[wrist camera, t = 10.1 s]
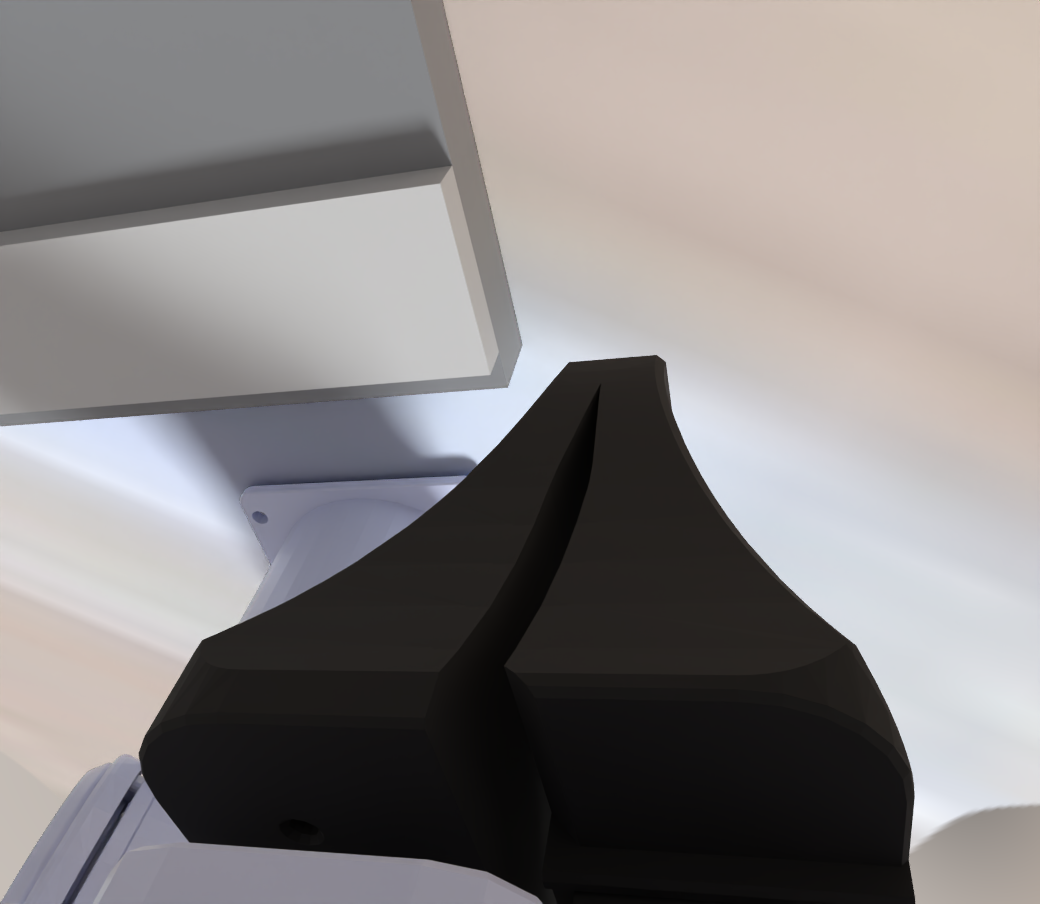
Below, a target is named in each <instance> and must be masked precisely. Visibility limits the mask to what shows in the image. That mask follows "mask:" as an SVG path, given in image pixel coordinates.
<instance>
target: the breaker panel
mask: <svg viewBox="0 0 1040 904" xmlns="http://www.w3.org/2000/svg"><path fill="white" fill-rule="evenodd" d="M521 347H522V342H521V337H520V333H519V329H518V324H517V320H516V316H515V312H514V307H513V303H512V299H511V294H510V290H509V286H508V281H507V277H506V273H505V269H504V264H503V260H502V256H501V251H500V247H499V243H498V238H497V234H496V230H495V225H494V221H493V217H492V213H491V208H490V204H489V200H488V195H487V191H486V187H485V182H484V178H483V174H482V169H481V165H480V161H479V157H478V152H477V148H476V144H475V139H474V135H473V131H472V126H471V122H470V118H469V113H468V109H467V105H466V101H465V96H464V92H463V88H462V83H461V79H460V75H459V70H458V66H457V62H456V58H455V53H454V49H453V45H452V40H451V36H450V32H449V27H448V23H447V19H446V14H445V10H444V6H443V2H442V0H0V426H11V425H24V424H37V423H50V422H63V421H76V420H89V419H102V418H115V417H128V416H141V415H154V414H168V413H181V412H194V411H207V410H220V409H233V408H246V407H259V406H272V405H285V404H298V403H312V402H325V401H338V400H351V399H364V398H377V397H390V396H403V395H416V394H429V393H442V392H455V391H469V390H482V389H495V388H508V385H509V383H510V380H511V377H512V374H513V371H514V368H515V365H516V362H517V359H518V356H519V353H520V350H521Z"/></svg>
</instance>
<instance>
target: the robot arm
mask: <svg viewBox="0 0 1040 904" xmlns="http://www.w3.org/2000/svg"><path fill="white" fill-rule="evenodd" d="M239 501H240V505H241V507H242V509H243V511H244V513H245V515H246V517H247V519H248V521H249V523H250V525H251V527H252V529H253V531H254V533H255V535H256V537H257V539H258V541H259V543H260V545H261V546H262V548H263V550H264V552H265V554H266V556H267V558H268V560H269V562H270V564H271V566H270V568H269V570H268V572H267V574H266V575H265V577H264V579H263V581H262V583H261V584H260V586H259V588H258V590H257V592H256V593H255V595H254V597H253V599H252V600H251V602H250V604H249V606H248V608H247V609H246V611H245V613H244V615H243V617H242V618H241V620H240V622H239V624H238V625H235V626H233V627H231V628H229V629H227V630H225V631H222V632H220V633H218V634H216V635H213V636H211V637H209V638H206V639H204V640H202V641H201V643H200V644H199V646H198V648H197V649H196V651H195V652H194V654H193V656H192V657H191V659H190V661H189V662H188V664H187V666H186V667H185V669H184V671H183V673H182V674H181V676H180V678H179V679H178V681H177V683H176V684H175V686H174V688H173V689H172V691H171V693H170V694H169V696H168V698H167V700H166V701H165V703H164V705H163V706H162V708H161V710H160V711H159V713H158V715H157V716H156V718H155V720H154V721H153V723H152V725H151V727H150V728H149V730H148V732H147V733H146V735H145V737H144V740H143V743H142V745H141V748H140V751H139V759H140V760H139V759H137V758H135V757H133V756H131V755H127V754H124V755H121V756H119V757H118V758H117V759H116V760H115V761H114V762H113V763H107V764H104V765H101V766H99V767H96V768H93V769H91V770H89V771H88V772H87V773H86V774H85V775H84V776H83V777H82V778H81V779H80V781H79V782H78V783H77V785H76V786H75V787H74V789H73V790H72V791H71V793H70V794H69V795H68V797H67V798H66V800H65V801H64V803H63V804H62V806H61V807H60V808H59V810H58V811H57V813H56V814H55V816H54V817H53V819H52V820H51V822H50V824H49V825H48V827H47V828H46V830H45V831H44V833H43V834H42V836H41V837H40V839H39V841H38V842H37V844H36V845H35V847H34V849H33V850H32V852H31V853H30V855H29V856H28V858H27V860H26V861H25V863H24V865H23V866H22V868H21V870H20V871H19V873H18V874H17V876H16V878H15V879H14V881H13V883H12V884H11V886H10V888H9V889H8V891H7V893H6V894H5V896H4V898H3V900H2V901H1V902H0V904H915V896H914V890H913V884H912V878H911V871H910V866H909V850H910V839H911V829H912V818H913V807H914V797H915V796H914V782H913V775H912V771H911V767H910V763H909V760H908V756H907V753H906V750H905V747H904V744H903V741H902V739H901V736H900V733H899V731H898V728H897V726H896V723H895V721H894V719H893V716H892V714H891V712H890V710H889V707H888V705H887V703H886V701H885V699H884V697H883V695H882V693H881V691H880V689H879V687H878V685H877V683H876V681H875V679H874V678H873V676H872V674H871V672H870V670H869V668H868V666H867V665H866V663H865V661H864V659H863V657H862V655H861V654H860V652H859V650H858V648H857V646H856V645H855V644H853V643H852V642H851V641H850V640H848V639H847V638H846V637H844V636H843V635H842V634H841V633H839V632H838V631H837V630H836V629H834V628H833V627H832V626H831V625H830V624H828V623H827V622H826V621H825V620H824V619H823V618H821V617H820V616H819V615H818V614H817V613H816V612H814V611H813V610H812V609H811V608H810V607H809V606H808V605H807V604H805V603H804V602H803V601H802V600H801V599H800V598H799V597H798V596H797V595H796V594H795V593H794V592H793V591H792V590H791V589H790V588H789V587H788V586H787V585H786V584H785V583H784V582H783V581H781V579H780V578H779V577H778V576H777V575H776V574H775V573H774V572H773V570H772V569H771V568H770V567H769V566H768V565H767V564H766V563H765V562H764V560H763V559H762V558H761V557H760V556H759V555H758V554H757V553H756V552H755V550H754V549H753V548H752V547H751V546H750V545H749V544H748V543H747V541H746V540H745V539H744V538H743V536H742V535H741V534H740V532H739V531H738V530H737V528H736V527H735V526H734V524H733V523H732V522H731V520H730V519H729V518H728V516H727V515H726V514H725V512H724V511H723V509H722V508H721V506H720V505H719V503H718V502H717V500H716V499H715V497H714V496H713V494H712V493H711V491H710V489H709V488H708V486H707V484H706V483H705V481H704V479H703V477H702V476H701V474H700V472H699V470H698V468H697V466H696V465H695V463H694V461H693V459H692V457H691V455H690V453H689V451H688V449H687V447H686V445H685V443H684V440H683V438H682V435H681V433H680V430H679V428H678V426H677V423H676V421H675V418H674V416H673V413H672V408H671V400H670V392H669V384H668V376H667V368H666V362H665V361H664V360H662V359H661V358H660V357H658V356H657V355H652V356H640V357H628V358H616V359H604V360H592V361H580V362H569V363H568V364H567V365H566V366H565V367H564V369H563V370H562V371H561V372H560V373H559V374H558V375H557V377H556V378H555V379H554V380H553V381H552V382H551V384H550V385H549V386H548V387H547V388H546V390H545V391H544V392H543V393H542V394H541V396H540V397H539V398H538V399H537V400H536V402H535V403H534V404H533V405H532V406H531V408H530V409H529V410H528V411H527V412H526V414H525V415H524V416H523V417H522V418H521V419H520V420H519V422H518V423H517V424H516V425H515V426H514V427H513V428H512V430H511V431H510V432H509V433H508V434H507V435H506V436H505V437H504V439H503V440H502V441H501V442H500V443H499V444H498V445H497V446H496V447H495V448H494V449H493V450H492V451H491V452H490V453H489V454H488V455H487V456H486V457H485V458H484V459H483V460H482V461H481V462H480V463H479V464H478V465H477V466H476V467H475V468H474V469H473V470H472V471H471V472H470V473H469V474H468V475H467V476H466V475H464V476H444V477H424V478H404V479H384V480H364V481H344V482H324V483H304V484H284V485H264V486H251V487H248V488H246V489H245V490H244V492H243V493H242V495H241V496H240V500H239ZM260 512H262V513H264V514H265V515H263V514H262V513H260ZM141 774H143V776H141Z"/></svg>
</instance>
